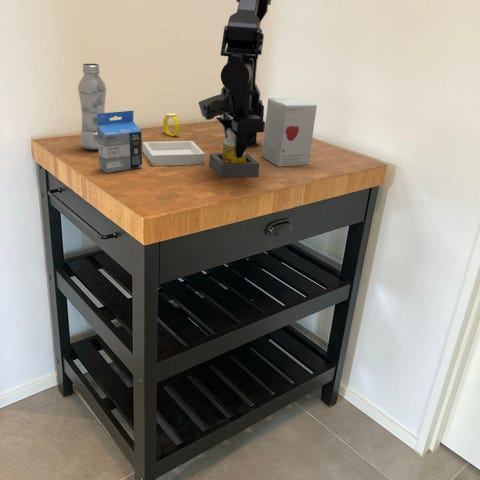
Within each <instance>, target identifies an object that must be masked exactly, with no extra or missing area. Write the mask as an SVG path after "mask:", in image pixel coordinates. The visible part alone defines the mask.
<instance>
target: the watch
mask: <svg viewBox="0 0 480 480" xmlns="http://www.w3.org/2000/svg"><path fill="white" fill-rule="evenodd" d="M170 118H171V119H172V120H173V121H174V122H173V123H174V125H175V126H174V129H175V130H174V132H173V133H172V132H171V131H170V130H169V125H168V123H169V119H170ZM162 126H163V131H164V133H165V134H166V135H168V136H170V137H177V136H178V135H179V133H180V130H181V125H180V121H179V118H178V117H177V113H171V112H170V113H166V116H164V118H163V121H162Z"/></svg>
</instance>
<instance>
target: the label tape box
mask: <svg viewBox="0 0 480 480" xmlns="http://www.w3.org/2000/svg"><path fill="white" fill-rule="evenodd" d="M115 117H117V118H121V119H114V120H113V119H112V118H115ZM111 119H112V120H111ZM97 135H98V164H99V169H100V170H101V171H102V172H104V173H107V174H109V173H113V172H122V171H126V170H127V171H128V170H133V169H139V168H143V142H142V141H143V140H142V137H143V136H142V131H141V130H140V128H139V127H138V125H137V124H136V123H135V122H134V110H122V111H111V112H105V113H98V114H97Z"/></svg>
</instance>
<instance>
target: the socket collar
mask: <svg viewBox="0 0 480 480" xmlns="http://www.w3.org/2000/svg"><path fill="white" fill-rule="evenodd" d="M222 158H223V152H211V153H210V152H209V159H208V160H209V161H208V162H209V163H208V166H209V167H210V168H211V169H212V170H213V172H214V173H216V175H217V176H218V177H219V178H220V179H228V178H247V177H249V178H252V177H259V172H260V163H259V162H258V160H256V159H255V158H254V157H252V156H251V155H250V154H249V153H247V152H246V162H241V163H225V162H223V161H222Z"/></svg>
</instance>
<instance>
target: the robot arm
mask: <svg viewBox="0 0 480 480" xmlns="http://www.w3.org/2000/svg"><path fill="white" fill-rule="evenodd" d="M235 1H236V2H237V3H238V5H237V10H236V12H235V13H233V14H231V15H230V16H229V18H228V22H227V25H224V28H223V32H222V33H223V35H222V41H221V50H220V56H221V57H227V61H226V62H227V63H226V64H225V65H224V66H223V67H222V69H221V70H220V71H221V72H220V80H221V83H222V85H223V86H222V88H221V92H220V93H219V94H218V95H213V96H211V97H207V98H205V99H202V100H200V101H198V106H199V109H200V112H201V116H202V117H204V118H205V120H207V121H209V120H213V119H216V120H217V121H218V123H220V124H221V126H222V127H223V132H224V136H225V138H227V137H228V136H227V129H228V128H229V129H230V130H231V132H232V133H233V134H234V136H235V151H236V157H237V158H241V157H242V155H243V153H244V152H245V150H246V151H247V149H246V148H248V147H251V146H259V142H257V135H258V134H259V133H265V123H266V121H264V117H265V116H264V115H265V114H264V113H265V105H263V100H261V92H260V89H259V87H258V85H257V82H256V81H257V70H258V69H257V66H258V60H259V56H262V53H263V52H262V51H263V44H264V38H265V37H264V36H265V35H264V33H263V29H262V28H261V23H262V21H263V19H264V17H265V16H266V15H267V13H268V10H269V6H271V3H272V0H235Z"/></svg>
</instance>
